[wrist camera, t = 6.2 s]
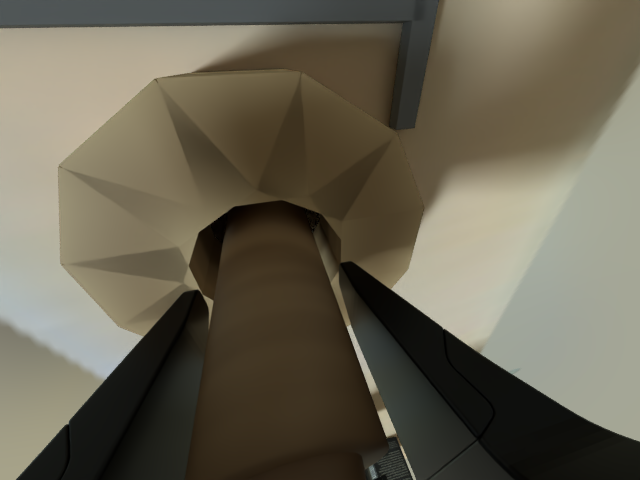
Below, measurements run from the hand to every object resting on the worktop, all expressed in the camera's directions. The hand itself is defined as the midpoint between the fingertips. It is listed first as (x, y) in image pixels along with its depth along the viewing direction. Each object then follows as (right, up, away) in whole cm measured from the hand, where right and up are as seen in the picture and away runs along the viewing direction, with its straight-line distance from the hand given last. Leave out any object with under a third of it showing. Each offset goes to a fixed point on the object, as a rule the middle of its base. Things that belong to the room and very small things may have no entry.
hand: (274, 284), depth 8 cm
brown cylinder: (-1, +3, +3) cm, 4 cm away
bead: (-1, +3, +3) cm, 4 cm away
